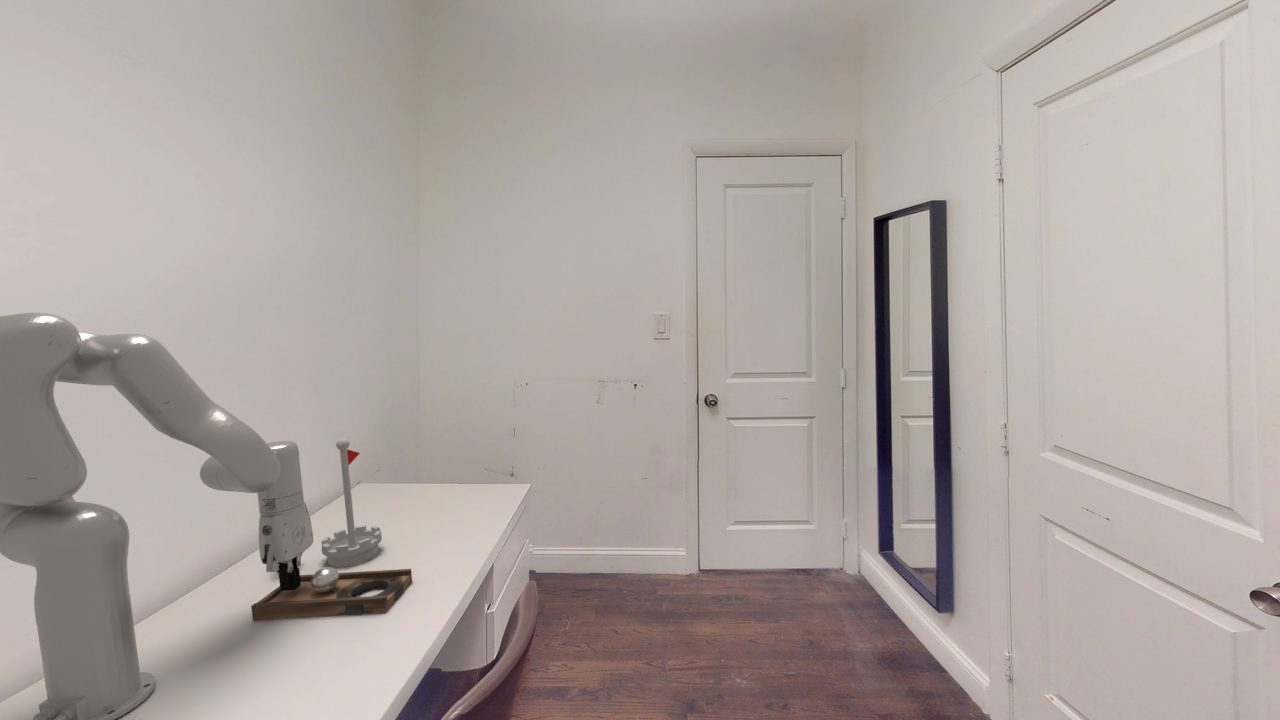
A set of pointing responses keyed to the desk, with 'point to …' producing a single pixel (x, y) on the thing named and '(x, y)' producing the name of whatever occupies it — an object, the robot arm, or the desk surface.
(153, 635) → the desk surface
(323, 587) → the steel ball
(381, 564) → the desk surface
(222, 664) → the desk surface
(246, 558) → the desk surface
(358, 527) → the flag stand
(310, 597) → the walnut lane
